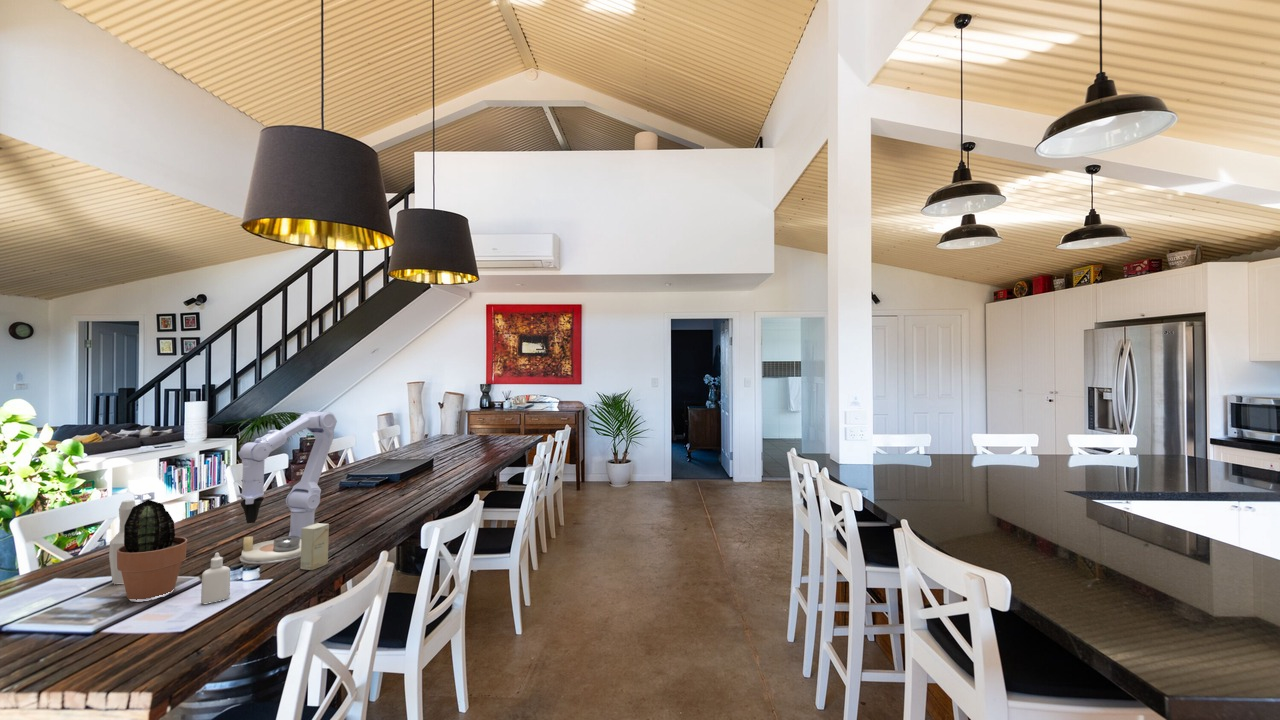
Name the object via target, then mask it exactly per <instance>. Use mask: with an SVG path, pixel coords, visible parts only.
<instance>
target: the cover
mask: <svg viewBox="0 0 1280 720" xmlns="http://www.w3.org/2000/svg"><path fill="white" fill-rule="evenodd" d="M300 539H301V538H300V537H299V536H289V535H285V536H280V537H277V538H275V539H273V540H274V544H273V551H274V552H289V551H294V550H296V549H298V548H299V547H300Z"/></svg>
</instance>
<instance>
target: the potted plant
mask: <svg viewBox="0 0 1280 720" xmlns="http://www.w3.org/2000/svg"><path fill="white" fill-rule="evenodd" d="M135 505H136V506H134V507H133V508H132V510H131V512H130V514H129V517H128V519H127V521H126V523H125V525H124V545H123V546H121V547H119V548H118V549H117V569H118V570H119V571H121V573H122V577H123V581H124V584H123V585H124V589H125V590H124V591H125V594H126V598H128V599H136V600H137V599H146V598H151V597H155V596H159V595H163V594H166V593H168V592H171V591H172V590H173V589H174V590H175V587H176V583H177V580H178V576H179V573H180V569H181V566H182V562H183V561H185V560H186V558H187V549H188V548H187V547H188V539H187V538H186V537H182V536H176V531H175V529H176V528H175V521H174V520H173V518H172V515H170V512H169V511H167V510H166V507H165V506H164V504H163V503H161V502H158V501H154V500H151V499H146V500H144V501H143V502H141V503H139V504H135ZM128 599H127V600H128Z"/></svg>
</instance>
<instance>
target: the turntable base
mask: <svg viewBox="0 0 1280 720" xmlns="http://www.w3.org/2000/svg"><path fill="white" fill-rule="evenodd" d="M299 558H301V554H300V555H297V556H294V557H291V558H286V559H281V560H275V561H265V562H252V561H246V560H243V559H242V554H241V555H240V556H239V559H238V560H239V561H240V562H241V563H244V564H247V565H268V564H270V565H271V564H276V563H283V562H287V561H292V560H295V559H299Z"/></svg>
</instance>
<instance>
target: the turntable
mask: <svg viewBox="0 0 1280 720" xmlns="http://www.w3.org/2000/svg"><path fill="white" fill-rule="evenodd" d="M274 540H275V539H270V540H266V541H261V542H257V543H254V536H253V535H252V536H251V535H250V536H245V537H243V544H242V545H243V546H242V550H241V555H242V559H243V560H246V561H252V562H265V561H275V560H281V559H286V558H291V557H294V556H297V555H300V554H301V538H300V547H299V548H298V549H296V550H294V551H289V552H274V551H273V544H274Z"/></svg>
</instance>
